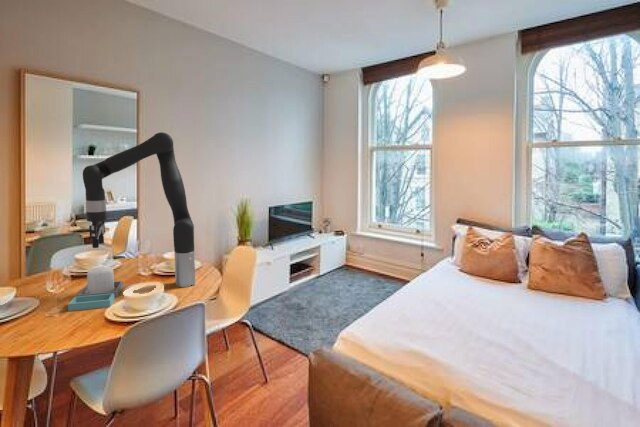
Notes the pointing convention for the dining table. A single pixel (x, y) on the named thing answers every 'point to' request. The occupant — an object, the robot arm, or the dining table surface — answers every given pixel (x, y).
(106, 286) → the grey rounded block
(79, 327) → the dining table surface
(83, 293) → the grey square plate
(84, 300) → the tray
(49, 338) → the dining table surface
